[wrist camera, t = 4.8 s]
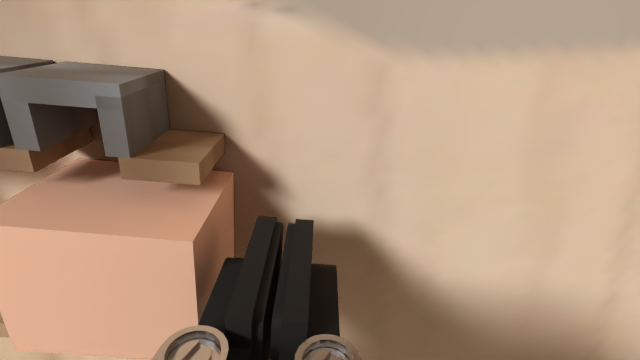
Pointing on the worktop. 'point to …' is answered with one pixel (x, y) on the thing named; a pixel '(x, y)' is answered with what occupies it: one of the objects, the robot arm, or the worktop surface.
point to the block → (110, 259)
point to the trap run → (114, 116)
